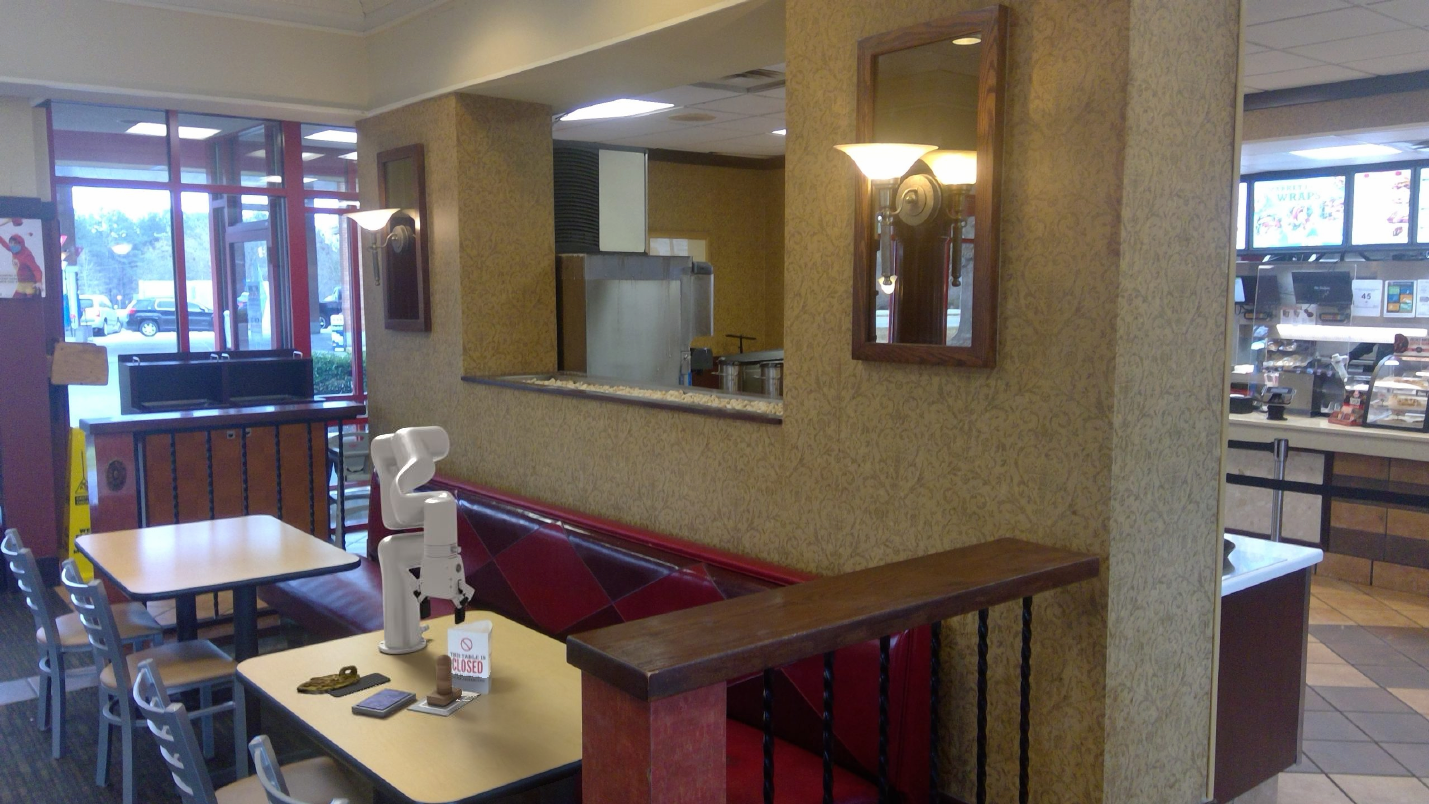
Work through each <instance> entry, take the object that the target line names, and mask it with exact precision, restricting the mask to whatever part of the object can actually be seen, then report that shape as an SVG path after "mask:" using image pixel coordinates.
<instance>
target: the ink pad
mask: <svg viewBox="0 0 1429 804" xmlns="http://www.w3.org/2000/svg"><path fill="white" fill-rule="evenodd" d="M415 700H417V692H410V691H404V690H399V689H398V690H397V689H394V688H393V689H391V688H387V687H385V688H383V689H381V690H380V691H378V692H376V693H374V694H372V695H370V696H368V697H367V698H365V699H363V700H361V701H359V702H357V703H355V704H353V705H352V706H351V713H353V714H354V713H355V714H358V715H359V714H360V715H365V716H369V717H375V718H380V719H384V718H386V717H387V716H389V715H391V714H393V713H394V712H396V711H398V710H400V709H402V708H404V707H405V706H406V705H408V704H410V703H411V702H414V701H415Z"/></svg>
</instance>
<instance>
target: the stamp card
mask: <svg viewBox="0 0 1429 804" xmlns="http://www.w3.org/2000/svg"><path fill="white" fill-rule="evenodd" d="M474 697H476V696H474ZM474 697H473V696H471V697H470V696H468V695H467V696H461V698H459V699H458V700H460V701H454V702H453V703H451V704H449V705H448V706H446V707H439V706H433V705H427V696H425V697H423V698H422V699H420V700H418V701H417V702H415V703H414V704H412V705H410V706H408V707H407V708H406V710H408V711H413V712H419V713H425V714H430V715H435V714H437V715H436V716H441V715H444V716H443V717H448V716H449V715H448V714H450V713H451V714H453V713H454V712H456V711H457V710H458V709H457V708H459V707H461V706H462V707H464V706H465V705H466V704H465V703H467V702H468V703H469V701H463V700H471V699H473V698H474ZM476 698H477V697H476ZM473 700H474V699H473ZM468 703H467V704H468ZM464 704H465V705H464ZM463 705H464V706H463ZM462 707H461V708H462ZM456 709H457V710H456ZM459 709H460V708H459ZM455 710H456V711H455ZM453 711H454V712H453ZM452 712H453V713H452ZM451 714H450V715H451ZM447 715H448V716H447Z"/></svg>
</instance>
